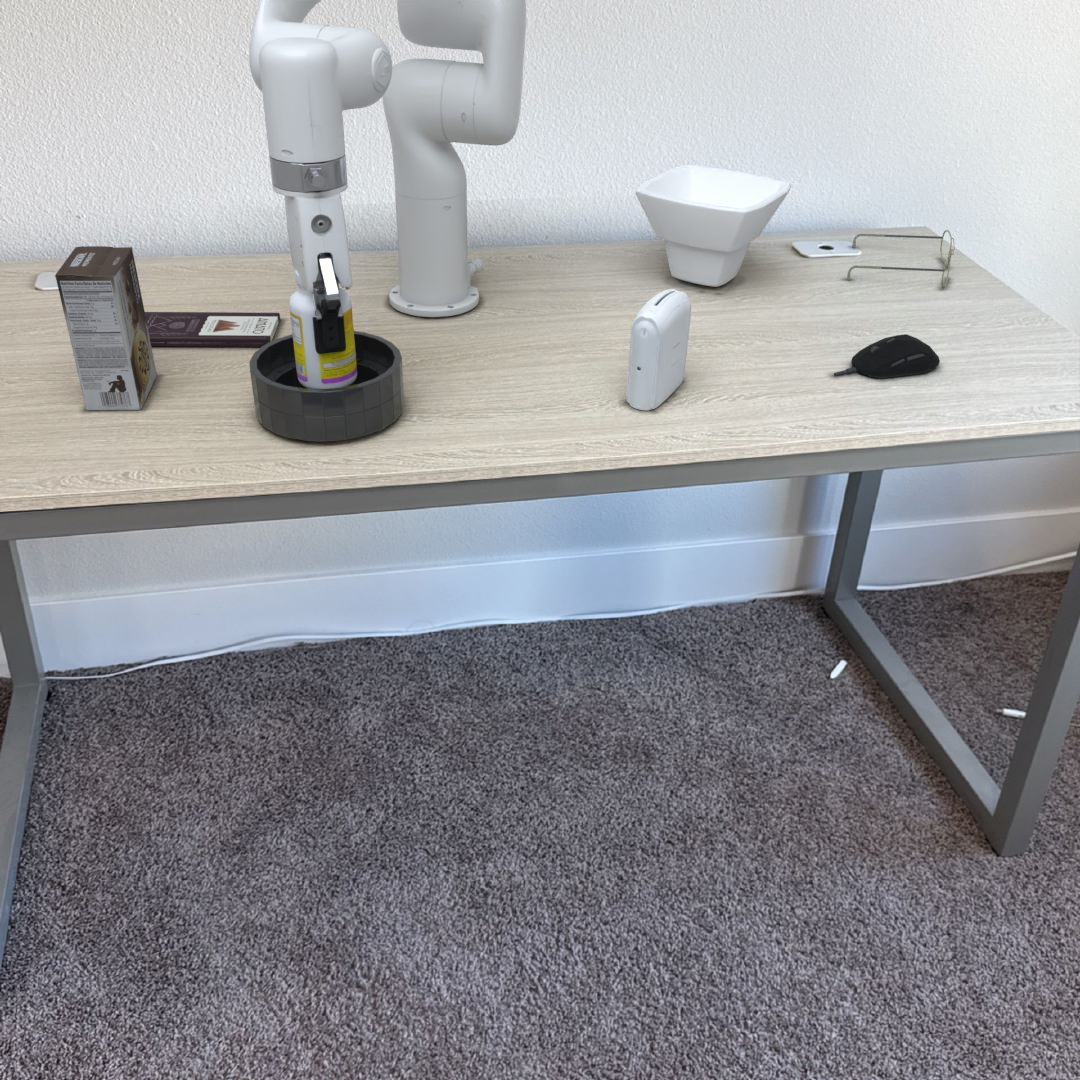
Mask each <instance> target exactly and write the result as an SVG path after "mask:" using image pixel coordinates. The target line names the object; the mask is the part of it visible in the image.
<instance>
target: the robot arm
mask: <svg viewBox="0 0 1080 1080" xmlns="http://www.w3.org/2000/svg"><path fill="white" fill-rule="evenodd" d="M320 2H322V0H258V4H257V8H256V11H255V16H254V21H253V25H252V30H251V34H250V35H251V36H250V41H249V50H248V51H249V52H248V56H249V57H248V58H249V69H250V73H251V78H252V80H253V82H254V83H255V86H256V87H257V88H258V90H260V92H262V103H263V111H264V121H265V130H266V140H267V150H268V158H269V169H270V176H271V185H272V190H273V191H274V192H275V194H278V195H282V196H283V197H284V199H283V201H284V207H285V218H286V219H285V220H286V228H287V236H288V245H289V251H290V258H291V263H292V267H293V269H294V271H295V270H297V272H298V274H299V276H300V279H301V282H302V284H303V286H304V288H305V289H306V290H307V291H308V292H310V293H311V294H312V299H313V305H314V311H315V317H312V318H313V329H314V339H315V349H316V352H317V353H318V354H326V353H334V352H342V351H345V350H346V340H345V327H344V316H343V311H342V305H341V299H340V292H339V288H340V286H341V288H342V289H345V290H350V289H351V288H352V287H353V275H352V266H351V258H350V248H349V241H348V240H349V239H348V233H347V232H348V231H347V223H346V217H345V210H344V206H343V200H342V195H341V193H343V192H345V191H346V190H348V187H349V186H348V184H349V183H348V171H347V170H348V169H347V157H346V156H347V155H346V143H345V129H344V116H343V115H344V114H343V112H344V111H349V110H357V109H363V108H367V107H370V106H372V105H374V104H375V103H377V102H378V101H380V100H381V99H382V105H383V112H384V114H385V115H384V116H385V120H386V125H387V129H388V134H389V140H390V145H391V153H392V163H393V175H394V179H393V180H394V195H395V196H394V199H395V217H396V219H395V220H396V237H397V238H396V239H397V240H396V241H397V258H398V280H399V284H397V285H395V286H394V287H393V288H392V289H391V290H390V291H389V293H388V296H389V297H388V301H389V304H390V306H391V307H392V308H393V309H394V310H396V311H397V312H401V313H402V314H406V315H409V316H415V317H422V318H445V317H446V318H447V317H452V316H458V315H461V314H465V313H468V312H469V311H472V310H473V309H474V308H476V307H477V306H478V304H479V303H480V293H479V290H478V289H477V288H476V287H475V286H474V285H472V284H471V279H472V278H473V276H475V275H476V274H478V273H480V272H482V271H483V270H484V268H485V265H484V262H483V260H482V259H481V258H477V257H476V258H474V259H471V260H469V261H468V258H469V257H468V183H467V182H468V181H467V180H468V179H467V173H466V170H465V167H464V164H463V161H462V159H461V157H460V156H459V153H458V152H457V151H456V148H454V146H453V144H452V143H456V144H468V145H469V144H470V145H478V146H495V147H496V146H503V145H507V144H508V143H510V142H511V140H513V138H514V137H515V135H516V133H517V130H518V126H519V123H520V117H521V108H522V94H523V80H524V79H523V78H524V77H523V76H524V65H525V64H524V62H525V47H526V33H527V32H526V30H527V3H526V0H397V21H398V26H399V30H400V33H401V35H403V37H404V39H405V40H407V41H408V42H410V43H412V44H414V45H418V46H421V47H428V48H435V49H447V50H449V49H450V50H460V51H461V50H462V51H476V52H480V54H481V56H482V62H483V63H480V62H469V61H456V60H447V59H436V58H411V59H405V60H401V61H400V62H397V63H395V64H394V65H393V60H392V55H391V52H390V50H389V47H388V46H387V44H386V43H385V41H384V40H383V39H382V38H381V37H380V36H379V35H378V34H377V33H375V32H373V31H370V30H368V29H366V28H362V27H361V28H360V27H355V26H342V25H330V24H324V23H308V22H304V20H305V18H307V16H308V13H310V11H312V9H313V8H314V7H316V6H317V5H318V4H319V3H320ZM318 266H319V268H318ZM338 281H339V286H338ZM316 283H323V288H317V289H316V286H315V284H316ZM319 295H324V298H325V299H324V300H322V301H321V303H320V301H319ZM320 304H321V305H320Z"/></svg>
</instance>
